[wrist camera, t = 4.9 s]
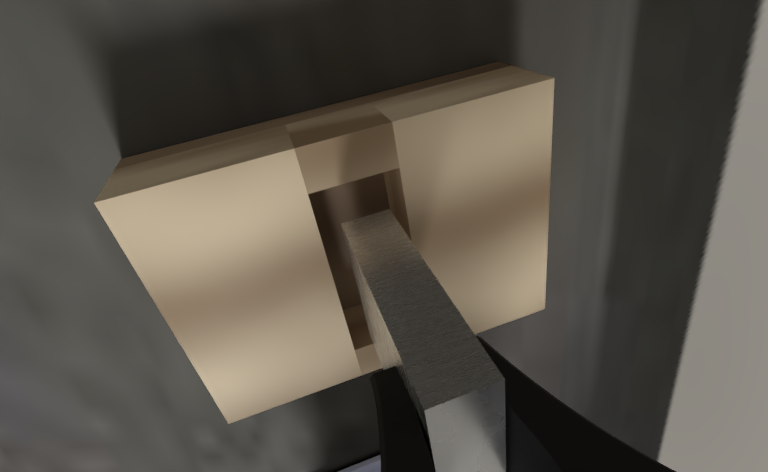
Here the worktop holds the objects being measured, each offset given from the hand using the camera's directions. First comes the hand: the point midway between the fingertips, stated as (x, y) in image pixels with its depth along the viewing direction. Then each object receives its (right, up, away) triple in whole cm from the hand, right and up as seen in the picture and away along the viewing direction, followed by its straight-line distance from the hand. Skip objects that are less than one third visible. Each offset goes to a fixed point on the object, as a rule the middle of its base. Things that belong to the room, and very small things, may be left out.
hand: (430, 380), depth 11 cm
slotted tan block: (-3, +4, +7) cm, 9 cm away
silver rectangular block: (-1, +2, +4) cm, 5 cm away
